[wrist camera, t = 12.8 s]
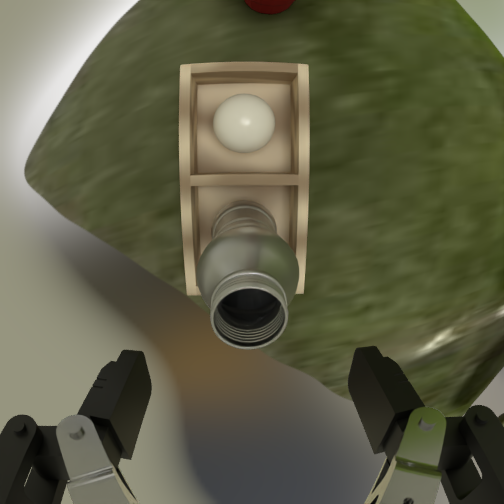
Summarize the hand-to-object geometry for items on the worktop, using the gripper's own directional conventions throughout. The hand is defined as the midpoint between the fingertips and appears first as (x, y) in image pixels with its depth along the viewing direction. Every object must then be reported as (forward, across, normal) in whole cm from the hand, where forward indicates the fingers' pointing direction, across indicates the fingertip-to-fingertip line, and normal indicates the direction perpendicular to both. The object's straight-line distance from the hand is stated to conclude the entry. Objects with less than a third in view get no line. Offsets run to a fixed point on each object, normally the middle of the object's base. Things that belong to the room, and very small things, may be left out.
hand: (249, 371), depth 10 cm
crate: (+24, 0, -5) cm, 25 cm away
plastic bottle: (+24, 0, 0) cm, 24 cm away
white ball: (+24, 0, -11) cm, 26 cm away
